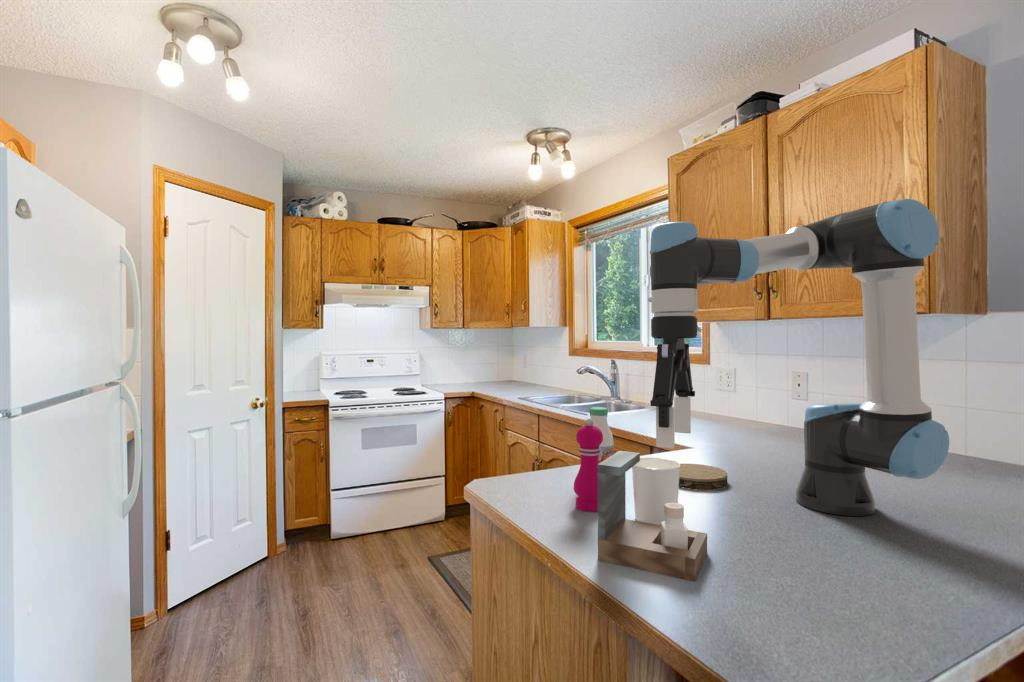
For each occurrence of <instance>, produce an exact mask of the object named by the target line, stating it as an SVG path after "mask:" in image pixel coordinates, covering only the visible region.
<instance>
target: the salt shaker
mask: <svg viewBox="0 0 1024 682" xmlns="http://www.w3.org/2000/svg"><path fill="white" fill-rule="evenodd" d="M684 509H685V506H684V505H683V504H681V503H679V502H678V503H666V504H665V505H664V516H665V521H663V522H661V545H664V546H669V547H674V548H679V549H685V550H688V530H689V529H688V527H687V524H686V523H685V522H684V517H685V516H684V515H685V513H684Z"/></svg>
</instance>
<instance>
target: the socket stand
mask: <svg viewBox="0 0 1024 682" xmlns="http://www.w3.org/2000/svg"><path fill="white" fill-rule="evenodd" d="M640 458H641V452H634V451H624V450H618V451H616V452H614V454H613V455H612V456H610V457H609V458H607V459H605V460H604V461H602V462H601V463H599V464H598V511H597V560H598V561H600V562H606V563H611V564H615V565H619V566H625V567H628V568H633V569H637V570H642V571H646V572H651V573H655V574H660V575H664V576H665V575H666V576H669V577H673V578H678V579H682V580H687V581H692V582H696V580H697V578H698V576H699V573H700V571H701V568H702V566H703V563H704V562H705V559H706V557H707V555H706V554H708V533H706V532H701V531H696V530H691V529H690V530H689V529H688V550H685V549H679V548H674V547H669V546H664V545H661V525H656V524H651V523H645V522H639V521H637V520H634V519H628V518H626V472H628V471H629V470H630V469H632V467H633V466H634V465H635V464H637V463H638V462H639V461H640ZM703 561H704V562H703Z"/></svg>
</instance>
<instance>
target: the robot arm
mask: <svg viewBox="0 0 1024 682" xmlns="http://www.w3.org/2000/svg"><path fill="white" fill-rule="evenodd" d="M698 235H699V233H698V229H697V226H696V224H695V223H692V222H688V221H673V222H667V223H666V222H665V223H661V224H659V225H656V226H655V227H653V229H652V231H651V235H650V246H649V247H650V249H649V250H650V251H649V255H650V266H649V277H650V286H651V287H650V290H651V296H648V298H647V302H648V303H651V306H650V307H651V308H650V310H651V312H650V313H652V314H654V316H653V317H651V318H650V333H651V334H650V335H651V336H650V337H651V338H653V339H663V342H662V344H659V343H658V344H657V346H656V351H657V352H656V364H655V374H654V381H653V390H652V398H651V400H650V401H649V402H650V403H649V404H650V407H655V445H656V446H655V447H656V448H664V449H665V448H666V449H675V445H676V444H675V443H676V442H675V441H676V440H675V433H676V434H677V433H678V434H691V433H692V429H691V428H692V427H691V425H692V424H691V421H692V420H691V419H692V418H691V415H692V414H691V409H692V408H691V398H692V397H695V396H696V392H695V391H696V390H694V387H693V380H692V371H691V359H690V343H689V342H685V339H695V338H697V336H698V318H697V317H696V316H695V314H696V313H697V312H699V311H698V309H699V307H698V286H703V285H704V286H705V285H711V284H717V283H718V284H719V283H730V284H735V283H745V282H748V281H749V280H751V279H752V278H753V277H754V276H755V275H759V274H764V273H765V274H766V273H771V272H775V271H776V272H777V271H780V270H787V269H791V270H793V271H799V272H800V271H807V270H815V269H816V270H817V269H841V268H842V269H844V268H851V276H853V277H854V278H856V279H857V280H858V281H860V283H861V299H862V301H861V302H862V315H863V317H862V318H863V332H864V333H863V335H864V336H863V338H864V355H865V356H864V357H865V373H866V375H865V376H866V391H867V399H866V400H865V401H863V403H859V402H858V403H857V402H856V403H855V402H854V403H847V402H845V403H820V404H819V403H817V404H816V403H815V404H810V405H809V406H807V408H806V409H805V410H804V411H805V412H804V414H805V415H804V421H803V424H804V425H803V426H804V427H803V433H804V434H803V436H804V469H803V472H802V473H801V477H800V478H799V482H798V483H797V487H796V490H795V500H796V502H797V503H798V504H799V505H801V506H804V507H806V508H809V509H811V510H813V511H814V510H815V511H817V512H821V513H826V514H832V515H838V516H849V517H850V516H851V517H862V516H868V515H873V514H874V513H875V511H876V508H875V507H876V502H875V498H874V496H873V493H872V490H871V487H870V484H869V482H868V479H867V476H866V468H867V469H871V470H874V471H879V472H883V473H886V474H890V475H893V476H895V477H899V478H901V477H902V478H907V479H913V480H923V479H927V478H929V477H931V476H933V475H934V474H935V473H937V472H938V470H940V468H941V466H942V465H944V462H945V461H946V459H947V456H948V453H949V449H950V435H949V432H948V431H947V429H946V427H945V426H944V425H943V424H941V423H940V422H938V421H937V420H936V421H935V420H933V415H932V414H933V412H932V408H931V406H930V405H928V404H927V403H925V402H924V401H923V400H922V396H921V395H922V394H921V375H920V372H921V371H920V356H919V355H920V354H919V335H918V317H917V314H918V313H917V312H918V311H917V299H916V297H917V296H916V277H917V275H918V274H920V273H921V272H922V271H923V270H924V269H925V258H927V257H929V256H931V255H932V254H933V253H934V252H936V250H937V246H938V244H939V241H940V229H939V225H938V222H937V219H936V217H935V215H934V214H933V212H932V211H931V210H930V208H929V209H928V207H927V206H926V205H925V204H924V203H922V202H921V201H919V200H916V199H912V198H903V199H902V198H901V199H896V200H888V201H883V202H880V203H877V204H874V205H869V206H866V207H862V208H859V209H858V208H857V209H854V210H852V211H847V212H842V213H838V214H834V215H833V216H829V217H826V218H823V219H821V220H818V221H815V222H812V223H808V224H806V225H805V224H804V225H799V226H795V227H792V228H790V229H789V230H788V231H787V232H786V233H778V234H774V235H773V234H772V235H766V236H761V237H754V238H749V239H737V238H733V239H731V238H712V237H711V238H710V237H700V236H698ZM673 405H674V406H673Z"/></svg>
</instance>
